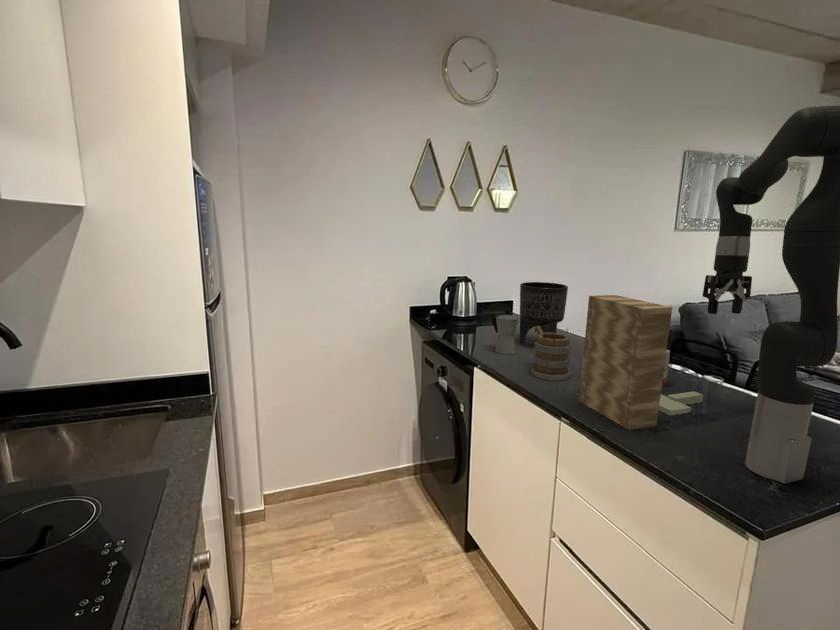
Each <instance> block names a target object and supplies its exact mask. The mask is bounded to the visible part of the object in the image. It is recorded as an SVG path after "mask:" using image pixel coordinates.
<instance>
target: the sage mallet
mask: <svg viewBox="0 0 840 630" xmlns="http://www.w3.org/2000/svg"><path fill="white" fill-rule="evenodd" d="M703 397H704V394H702V393H700V392H697V391H687V392H682V393H681V392H679V393H673V394H668V395H667V396H666V395H664V394H662V393H661V396H660V404H659V411H660V412H662V413H664V414H666V415H668V416H670V415H671V416H677V414H678V415H683V413H684V414H690V413H689V412H692V407H691V406H688V405H686V404H690V405H695V404H694V403H697V404H701V402H702V403H703Z"/></svg>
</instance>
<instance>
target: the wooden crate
mask: <svg viewBox="0 0 840 630" xmlns="http://www.w3.org/2000/svg"><path fill="white" fill-rule="evenodd" d="M587 305H588V306H587V312H586V313H587V314H586V315H587V316H586V326H585V333H584V334H585V336H584V347H583V354H582V355H583V357H582V368H581V377H580V386H579V387H580V388H579V399H578V402H579V403H581V404H583V405H584V404H585V406H586V405H587V406H586V407H588V408H590V409H591V408H592V409H591V410H593V409H594V411H595V412H597V413H598V412H599V413H598V414H600V415H602V416H603V417H605V418H607V419H609V420H610V421H612V420H613V421H612V422H614V423H616V424H617V425H619V424H620V426H621V427H623V428H625V429H626V430H628V431H635V430H639V429H645V428H651V427H657V424H658V418H659V417H658V416H659V411H660V410H659V404H660V396H661V394H662V388H663V387H662V381H663V374H664V366H665V359H666V351H667V350H668V345H669V342H668V341H669V336H670V328H671V322H672V313H673V307H672V306H669V305H664V304H658V303H654V302H650V301H645V300H640V299H635V298H630V297H628V296H627V297H626V296H622V295H617V294H603V295H602V294H601V295H589V296H588V304H587ZM634 429H635V430H634Z"/></svg>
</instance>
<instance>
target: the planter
mask: <svg viewBox="0 0 840 630" xmlns="http://www.w3.org/2000/svg"><path fill="white" fill-rule="evenodd" d="M568 290H569V286H568V285H566V284H564V283H563V284H562V283H558V282H557V283H555V282H544V281H543V282H542V281H529V282H522V283H520V285H519V316H520V317H519V343H520V344H524V343H526V338H527V334H528V333H529V331H530V330H531V329H534V328H535V327H536V326H540V328H541V329H542V331H543V333H557V331H558V330H557V327H558V324H559V323H561V322H563V321H564V319H565V313H566V305H567V298H568V292H569V291H568Z"/></svg>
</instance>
